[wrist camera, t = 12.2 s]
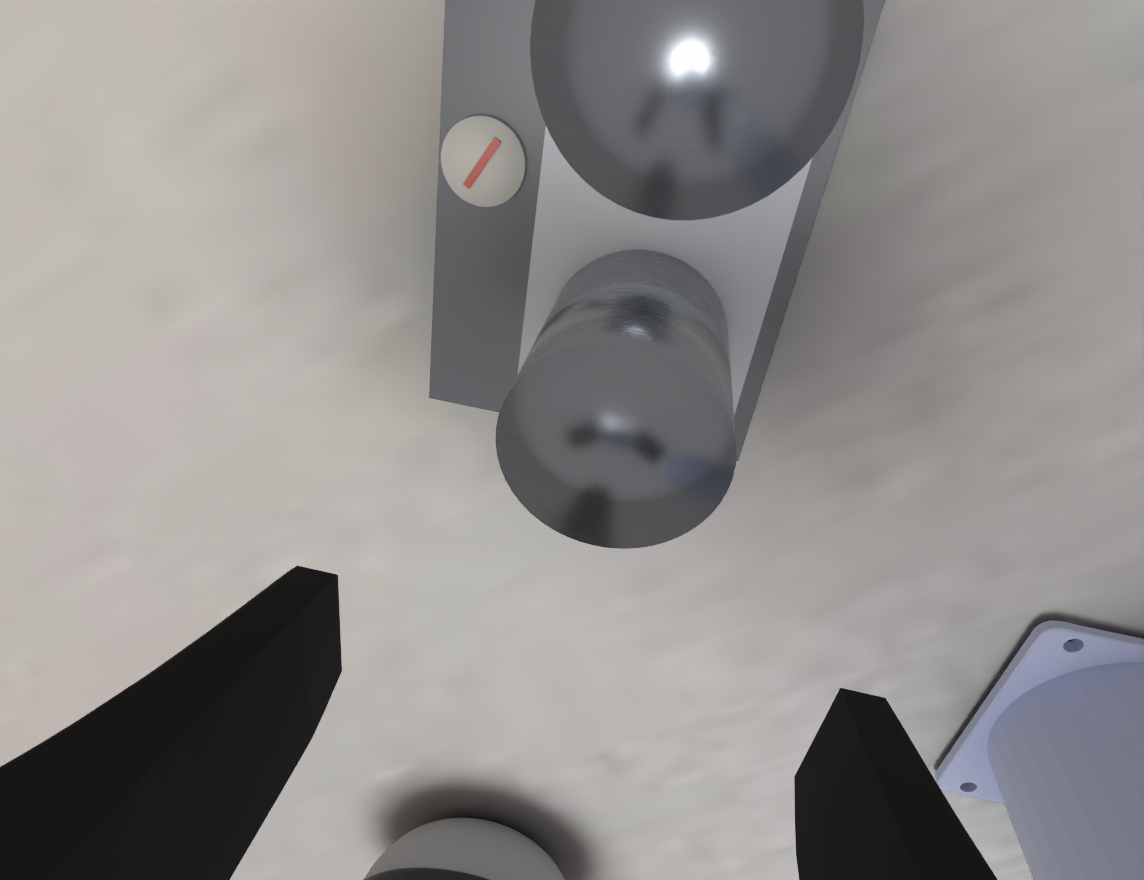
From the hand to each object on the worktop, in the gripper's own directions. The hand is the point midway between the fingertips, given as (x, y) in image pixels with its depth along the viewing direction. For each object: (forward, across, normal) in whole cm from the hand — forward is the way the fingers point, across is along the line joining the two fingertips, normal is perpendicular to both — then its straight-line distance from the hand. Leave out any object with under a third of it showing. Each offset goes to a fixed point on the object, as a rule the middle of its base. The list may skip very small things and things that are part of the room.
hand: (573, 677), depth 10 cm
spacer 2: (+8, 0, -2) cm, 8 cm away
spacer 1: (+8, 0, -8) cm, 11 cm away
